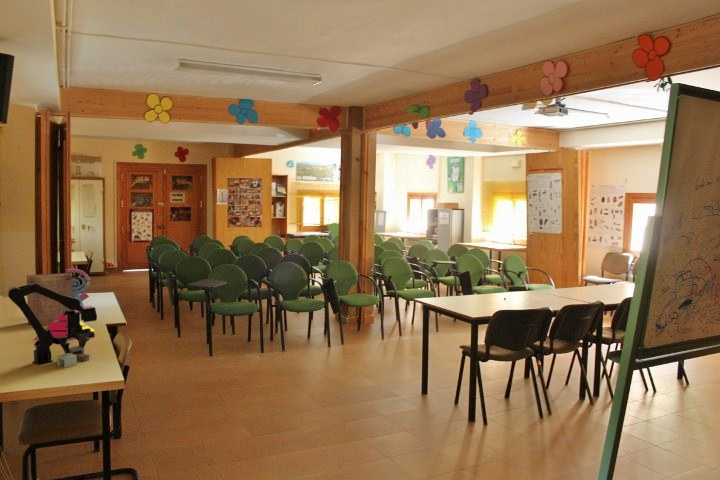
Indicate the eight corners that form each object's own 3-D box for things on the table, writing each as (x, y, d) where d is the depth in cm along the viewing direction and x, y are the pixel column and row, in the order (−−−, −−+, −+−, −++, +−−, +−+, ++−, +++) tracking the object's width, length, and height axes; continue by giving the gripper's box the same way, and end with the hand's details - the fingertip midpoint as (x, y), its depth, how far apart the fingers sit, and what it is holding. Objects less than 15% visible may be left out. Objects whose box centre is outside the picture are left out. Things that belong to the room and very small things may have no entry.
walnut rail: (83, 361, 283) (83, 356, 282) (71, 358, 288) (71, 353, 288) (89, 360, 285) (89, 354, 285) (77, 357, 290) (77, 352, 290)
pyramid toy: (96, 331, 351) (96, 307, 350) (77, 341, 326) (76, 315, 325) (54, 331, 351) (53, 307, 350) (31, 341, 326) (30, 315, 325)
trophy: (91, 308, 419) (90, 266, 417) (91, 312, 404) (89, 269, 402) (60, 310, 412) (58, 268, 410) (58, 315, 396) (56, 270, 394)
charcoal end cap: (84, 356, 290) (83, 347, 290) (71, 359, 285) (71, 350, 285) (77, 354, 293) (77, 345, 293) (64, 357, 288) (64, 348, 288)
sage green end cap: (65, 367, 273) (65, 357, 272) (57, 365, 276) (57, 355, 276) (76, 364, 277) (76, 355, 277) (68, 362, 281) (68, 353, 281)
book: (27, 325, 365) (26, 276, 363) (28, 322, 373) (26, 275, 371) (73, 321, 377) (71, 274, 375) (72, 318, 385) (71, 272, 383)
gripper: (64, 328, 276) (65, 361, 277) (100, 321, 291) (101, 353, 292) (51, 326, 282) (52, 358, 283) (87, 319, 297) (88, 349, 299)
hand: (74, 354), depth 289 cm, fingers closed on charcoal end cap, 6 cm apart
